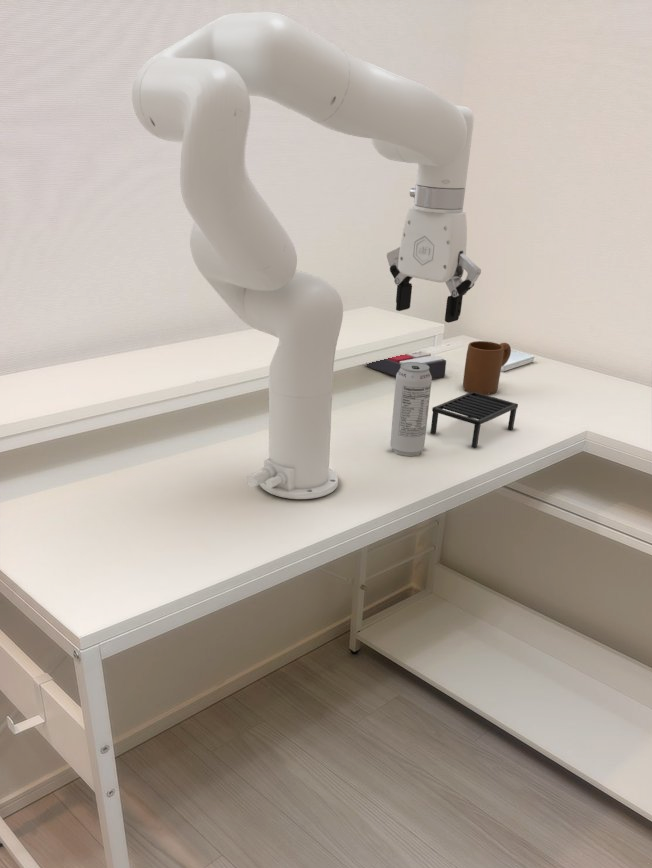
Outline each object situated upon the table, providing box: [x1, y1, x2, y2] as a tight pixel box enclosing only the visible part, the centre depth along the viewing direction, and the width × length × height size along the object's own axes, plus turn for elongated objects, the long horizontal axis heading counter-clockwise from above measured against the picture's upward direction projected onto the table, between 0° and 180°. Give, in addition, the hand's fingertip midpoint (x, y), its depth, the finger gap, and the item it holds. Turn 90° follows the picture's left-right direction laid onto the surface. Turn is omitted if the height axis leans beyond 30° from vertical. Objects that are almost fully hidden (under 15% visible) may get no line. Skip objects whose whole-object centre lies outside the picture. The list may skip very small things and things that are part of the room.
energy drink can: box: [389, 362, 433, 457], centre depth 138 cm, size 6×6×15 cm
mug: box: [462, 340, 512, 395], centre depth 172 cm, size 12×8×9 cm, turn 130°
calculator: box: [366, 350, 447, 380], centre depth 181 cm, size 11×4×15 cm
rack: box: [430, 391, 519, 449], centre depth 150 cm, size 14×10×5 cm
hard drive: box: [501, 349, 535, 372], centre depth 191 cm, size 2×8×12 cm
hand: (426, 315), depth 132 cm, fingers open, 9 cm apart
